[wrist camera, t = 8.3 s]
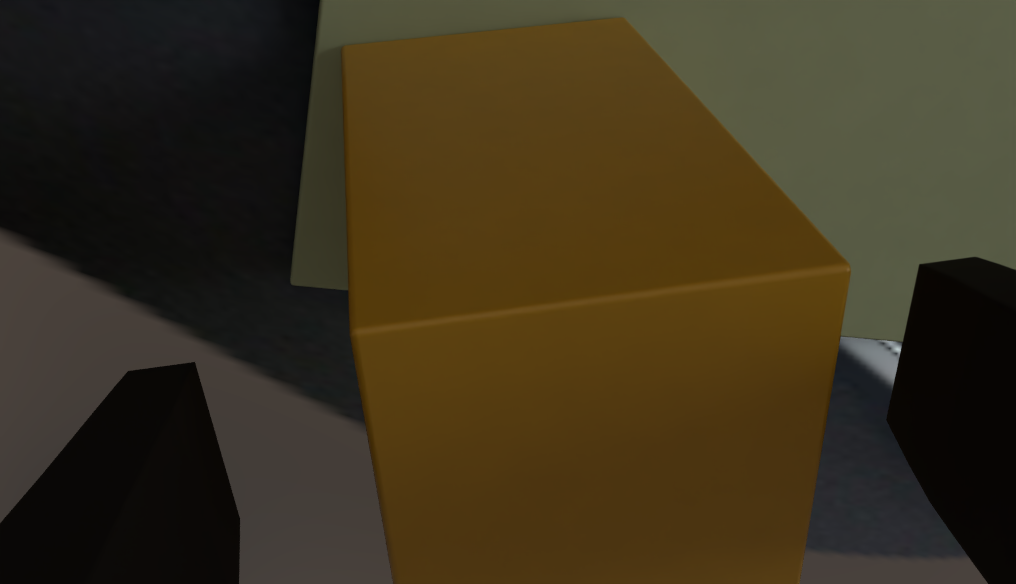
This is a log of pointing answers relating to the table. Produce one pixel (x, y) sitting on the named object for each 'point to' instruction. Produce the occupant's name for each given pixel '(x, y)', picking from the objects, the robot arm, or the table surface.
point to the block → (578, 317)
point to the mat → (768, 119)
